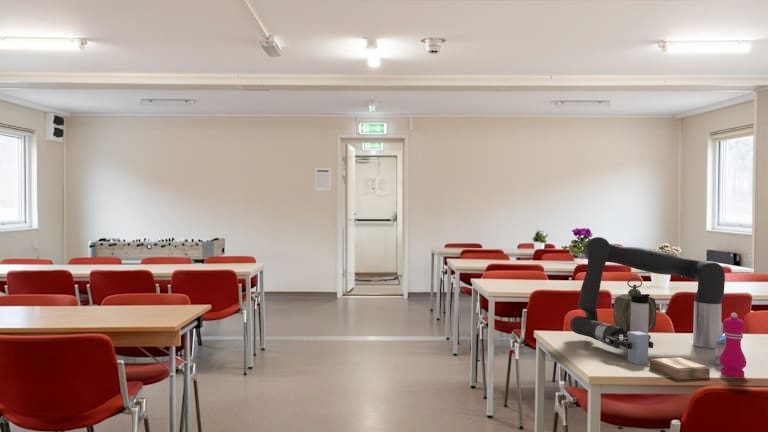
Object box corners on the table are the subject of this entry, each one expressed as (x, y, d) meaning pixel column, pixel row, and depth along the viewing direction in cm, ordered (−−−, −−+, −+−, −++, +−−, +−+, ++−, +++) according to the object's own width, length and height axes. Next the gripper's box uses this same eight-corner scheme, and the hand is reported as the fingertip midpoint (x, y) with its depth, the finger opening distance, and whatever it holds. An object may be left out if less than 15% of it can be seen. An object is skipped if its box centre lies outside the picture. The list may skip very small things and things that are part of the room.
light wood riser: (679, 367, 183) (680, 356, 183) (709, 377, 171) (709, 366, 171) (649, 368, 180) (649, 358, 180) (677, 379, 168) (677, 368, 168)
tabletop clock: (624, 341, 219) (626, 279, 219) (610, 336, 228) (612, 276, 228) (655, 340, 222) (657, 278, 222) (640, 335, 231) (641, 276, 231)
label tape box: (718, 360, 193) (719, 325, 193) (732, 362, 191) (733, 327, 191) (714, 365, 186) (715, 329, 186) (728, 367, 184) (729, 331, 184)
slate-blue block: (638, 359, 191) (639, 331, 191) (647, 363, 186) (648, 334, 186) (627, 360, 190) (628, 331, 190) (636, 364, 185) (637, 334, 185)
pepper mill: (746, 380, 170) (748, 315, 170) (719, 375, 174) (720, 313, 173) (745, 374, 176) (747, 312, 176) (719, 370, 180) (721, 309, 180)
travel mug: (650, 347, 209) (651, 295, 209) (632, 346, 211) (633, 294, 210) (646, 343, 215) (647, 293, 215) (628, 342, 217) (629, 292, 216)
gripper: (594, 325, 200) (624, 335, 184) (627, 324, 204) (659, 334, 188) (593, 346, 200) (623, 357, 184) (627, 344, 204) (659, 355, 188)
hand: (641, 345), depth 186 cm, fingers open, 8 cm apart
